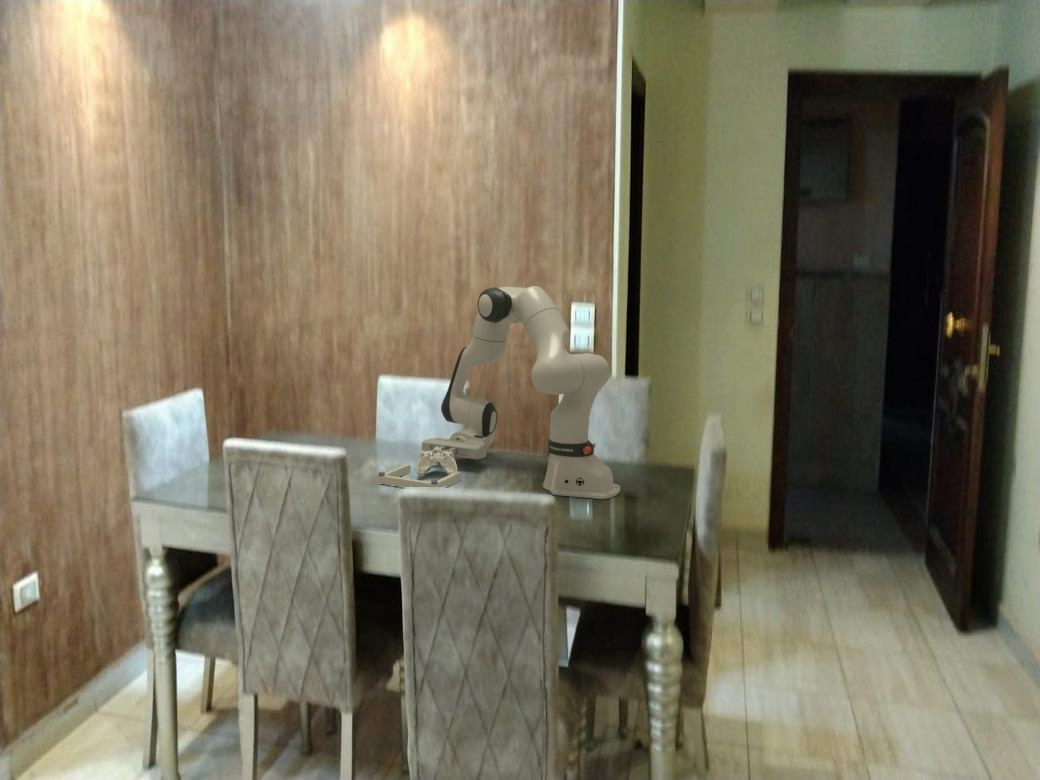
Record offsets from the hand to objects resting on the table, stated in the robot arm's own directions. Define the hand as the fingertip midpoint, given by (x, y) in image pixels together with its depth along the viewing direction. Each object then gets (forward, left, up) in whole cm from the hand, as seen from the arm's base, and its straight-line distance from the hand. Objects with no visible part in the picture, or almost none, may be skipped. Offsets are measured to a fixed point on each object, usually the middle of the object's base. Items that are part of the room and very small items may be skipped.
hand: (441, 453), depth 275 cm
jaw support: (-1, +4, -6) cm, 7 cm away
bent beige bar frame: (0, +12, -6) cm, 14 cm away
